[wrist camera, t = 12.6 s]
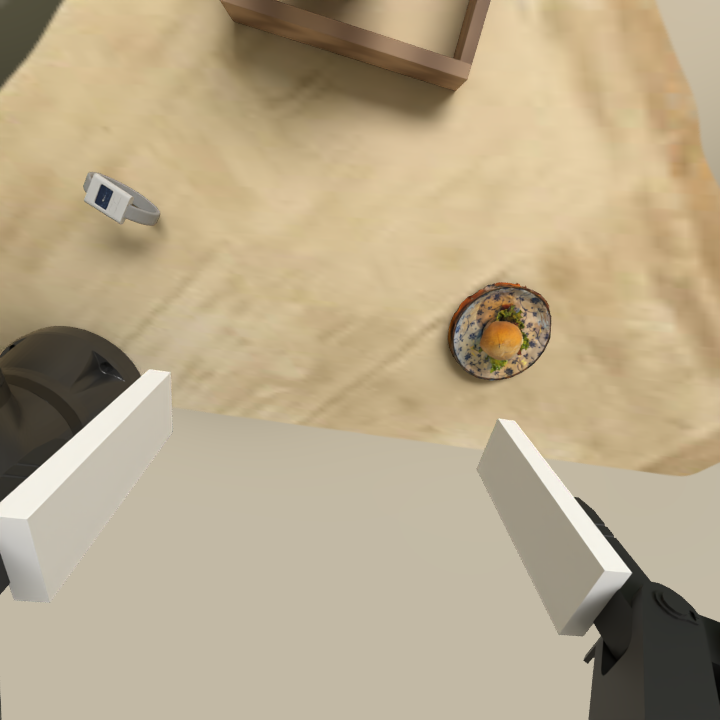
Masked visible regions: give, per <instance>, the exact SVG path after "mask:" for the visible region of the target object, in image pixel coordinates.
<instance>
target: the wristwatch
mask: <svg viewBox="0 0 720 720" xmlns="http://www.w3.org/2000/svg"><path fill="white" fill-rule="evenodd" d="M83 187H84V190H85V192H86V193H87V194H86V196H85V199H84V201H85V202H86V203H88V204H89V205H91V206H92V207H94V208H96V209H97V210H99V211H100V212H102V213H104V214H105V215H107V216H108V217H110V218H111V219H113V220H115V221H116V222H118V223H119V224H123V223H124V221H125V219H129V220H131V221H134V222H137V223H140V224H144V225H155V224H156V223H157V221H158V218H159V216H160V211H159V210H158V208H157V207H156V206H155V205H154V204H153V203H151V202H150V201H149V200H148V199H146V198H145V197H144V196H142V195H141V194H139V193H138V192H136V191H135V190H133V189H131V188H130V187H128V186H126V185H124V184H122V183H120V182H118V181H116V180H114V179H112V178H110V177H108V176H105V175H102V174H99V173H96V172H90V173H88V174H87V177H86V180H85V183H84V185H83ZM132 204H133V205H135V206H136V207H138V208H136V207H134V206H132Z"/></svg>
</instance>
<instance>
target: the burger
mask: <svg viewBox="0 0 720 720" xmlns="http://www.w3.org/2000/svg"><path fill="white" fill-rule="evenodd" d="M550 333H551V315H550V311H549V305H548V303H547V301H546V300H545V299H544V298H543V297H542V295H541V294H539V293H537V292H535V291H533V290H530V289H528V288H526V286H525V287H521V286H520V284H518V283H517V284H512V283H502V282H501V283H496V284H493V285H487V286H486V287H485V288H484V289H481V290H479V291H478V292H477V293H475V294H474V295H473V296H469V297H468V298H466V300H465V301H464V302H462V303H461V305H460V307H459V309H458V311H457V312H456V313H455V314H454V316H453V318H452V320H451V323H450V327H449V332H448V341H449V348H450V350H451V353H452V355H453V357H454V358H455V360H456V361H457V363H458V364H460V366H461V367H462V368H463V369H464V370H465V371H467V372H468V373H469V374H471V375H473V376H475V377H478V378H481V379H487V380H502V379H507V378H511V377H513V376H515V375H518V374H520V373H522V372H523V371H524V370H526V369H527V368H529V367H530V366H532V365H533V364H534V363H535V362H536V361H537V360H538V359H539V357H540V356H541V354H542V353H543V352H544V350H545V348H546V346H547V344H548V342H549V340H550Z"/></svg>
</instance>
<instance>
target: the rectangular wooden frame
mask: <svg viewBox="0 0 720 720" xmlns="http://www.w3.org/2000/svg"><path fill="white" fill-rule="evenodd" d="M220 1H221V3H222V4H223V6H224V7H225V9H226V10H227V12H228V13H229V15H230V17H231V18H232V20H233V21H235V22H238V23H241V24H244V25H248V26H251V27H254V28H257V29H260V30H263V31H267V32H270V33H273V34H276V35H279V36H282V37H286V38H289V39H292V40H295V41H298V42H302V43H305V44H308V45H311V46H314V47H317V48H321V49H324V50H327V51H330V52H333V53H336V54H340V55H343V56H346V57H349V58H352V59H356V60H359V61H362V62H365V63H368V64H371V65H375V66H378V67H381V68H384V69H387V70H391V71H394V72H397V73H400V74H403V75H406V76H410V77H413V78H416V79H419V80H422V81H425V82H429V83H432V84H435V85H438V86H441V87H445V88H448V89H451V90H454V91H456V90H457V89H458V88H459V87H460V86H461V85H462V84H463V83H464V82H465V81H466V80H467V79H468V75H469V72H470V69H471V65H472V62H473V58H474V55H475V52H476V48H477V45H478V41H479V38H480V35H481V31H482V28H483V25H484V21H485V18H486V14H487V11H488V8H489V4H490V1H491V0H469V4H468V7H467V11H466V15H465V18H464V22H463V25H462V29H461V33H460V36H459V40H458V44H457V47H456V51H455V54H454V58H450V57H447V56H444V55H441V54H438V53H435V52H432V51H429V50H426V49H423V48H419V47H416V46H413V45H410V44H407V43H404V42H401V41H398V40H395V39H392V38H389V37H386V36H383V35H380V34H377V33H374V32H371V31H367V30H364V29H361V28H358V27H355V26H352V25H349V24H346V23H343V22H340V21H337V20H334V19H331V18H328V17H325V16H322V15H318V14H315V13H312V12H309V11H306V10H303V9H300V8H297V7H294V6H291V5H288V4H285V3H282V2H279V1H276V0H220Z"/></svg>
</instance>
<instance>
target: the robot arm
mask: <svg viewBox="0 0 720 720" xmlns="http://www.w3.org/2000/svg"><path fill="white" fill-rule="evenodd" d="M172 425H173V424H172V394H171V372H166V371H158V370H151V369H149V370H148V371H147V372H146V373H144V374H143V375H142V376H140V374H139V372H138V370H137V369H136V367H135V366H134V364H133V363H132V361H131V360H130V359H129V358H128V357H127V356H126V355H125V354H124V353H123V352H122V351H121V350H120V349H119V348H117V347H116V346H115V345H113V344H112V343H111V342H109V341H107V340H106V339H104V338H102V337H100V336H98V335H96V334H94V333H91V332H89V331H86V330H82V329H78V328H73V327H66V326H54V327H47V328H43V329H39V330H37V331H34V332H32V333H30V334H27V335H25V336H23V337H21V338H19V339H17V340H16V341H14V342H13V343H11V344H10V345H9V346H8V347H7V348H6V349H5V350H4V351H3V352H2V354H1V355H0V594H1V593H2V592H3V591H4V590H5V588H6V587H7V586H8V585H9V586H10V589H11V592H12V595H13V598H14V600H17V601H18V600H19V601H33V602H49V603H50V601H51V600H52V599H53V598H54V596H55V595H56V593H57V592H58V591H59V589H60V588H61V586H62V585H63V583H64V582H65V581H66V580H67V578H68V577H69V575H70V574H71V573H72V571H73V570H74V568H75V567H76V566H77V564H78V563H79V561H80V560H81V559H82V557H83V556H84V554H85V553H86V552H87V550H88V549H89V547H90V546H91V545H92V543H93V542H94V541H95V539H96V538H97V536H98V535H99V534H100V532H101V531H102V530H103V528H104V526H105V525H106V524H107V523H108V521H109V520H110V518H111V517H112V516H113V514H114V513H115V512H116V510H117V509H118V507H119V506H120V505H121V503H122V502H123V500H124V499H125V498H126V496H127V495H128V493H129V492H130V491H131V489H132V488H133V486H134V485H135V484H136V482H137V481H138V480H139V478H140V477H141V475H142V474H143V473H144V471H145V470H146V468H147V467H148V466H149V464H150V463H151V461H152V460H153V459H154V457H155V456H156V454H157V453H158V452H159V450H160V449H161V448H162V446H163V445H164V443H165V442H166V441H167V439H168V438H169V437H170V435H171V433H172V432H173V426H172ZM477 471H478V473H479V475H480V477H481V479H482V481H483V483H484V485H485V487H486V489H487V491H488V493H489V495H490V497H491V499H492V501H493V503H494V505H495V507H496V509H497V511H498V513H499V515H500V517H501V519H502V521H503V523H504V525H505V527H506V529H507V531H508V533H509V535H510V537H511V539H512V542H513V544H514V546H515V548H516V549H517V552H518V554H519V556H520V557H521V560H522V562H523V564H524V566H525V568H526V570H527V572H528V574H529V576H530V578H531V579H532V582H533V584H534V586H535V588H536V590H537V592H538V594H539V596H540V598H541V600H542V602H543V604H544V606H545V608H546V610H547V612H548V614H549V616H550V618H551V620H552V622H553V624H554V626H555V628H556V630H557V632H558V634H559V635H572V636H584V635H585V633H586V632H587V631H588V630H589V628H590V627H591V626H592V624H593V623H594V624H595V626H596V628H597V630H598V631H599V633H600V634H601V637H600V638H599V639H598V641H597V642H596V643H595V644H594V645H593V647H592V648H591V649H590V650H589V652H588V653H587V654H586V656H585V658H584V661H585V662H586V663H589V661H590V660H591V659H592V658H595V660H594V670H593V679H592V690H591V701H590V710H589V720H720V622H717V621H715V620H712V619H709V618H707V617H704V616H701V615H699V614H698V613H697V612H696V611H695V609H694V608H693V607H692V606H691V605H690V604H689V603H688V602H687V601H686V600H685V599H683V597H682V596H680V595H679V594H677V593H676V592H674V591H673V590H671V589H670V588H668V587H666V586H664V585H662V584H659V583H655V582H651V581H650V580H649V578H648V577H647V576H646V575H645V574H644V572H643V571H642V570H641V569H640V567H639V566H638V565H637V564H636V562H635V561H634V560H633V559H632V557H631V556H630V555H629V554H628V552H627V551H626V550H625V549H624V548H623V546H622V545H621V544H620V542H619V541H618V540H617V539H616V538H614V535H613V534H612V532H610V530H609V529H608V527H605V524H604V522H603V521H602V520H601V519H600V518H599V516H598V515H597V514H596V512H595V511H594V510H593V509H592V508H590V507H589V506H588V505H587V504H586V503H584V502H583V501H582V500H581V499H580V498H577V497H573V496H572V494H571V493H570V492H569V491H568V489H567V488H566V487H565V486H564V484H563V483H562V482H561V480H560V479H559V478H558V476H557V475H556V474H555V472H554V471H553V470H552V469H551V467H550V466H549V465H548V463H547V462H546V461H545V459H544V458H543V457H542V456H541V454H540V453H539V452H538V450H537V449H536V448H535V446H534V445H533V444H532V443H531V441H530V440H529V439H528V437H527V436H526V435H525V434H524V432H523V431H522V430H521V428H520V427H519V426H518V424H517V423H516V422H515V421H512V420H505V419H497V421H496V424H495V426H494V429H493V431H492V433H491V436H490V438H489V441H488V443H487V445H486V448H485V450H484V453H483V455H482V457H481V460H480V462H479V465H478V467H477ZM0 720H1V699H0Z"/></svg>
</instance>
